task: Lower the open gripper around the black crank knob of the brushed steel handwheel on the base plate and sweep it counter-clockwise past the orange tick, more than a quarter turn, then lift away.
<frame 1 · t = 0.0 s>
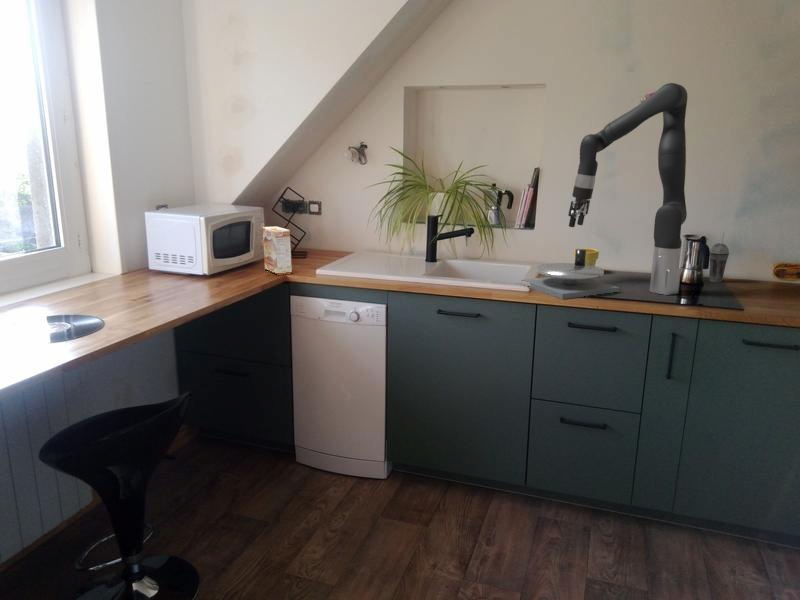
hand: (575, 225, 245), 22 cm above the worktop, tool pointing down, fingers open, 8 cm apart
beverage cup: (715, 281, 247), on the worktop
handwheel: (570, 263, 232), point 10 cm above the worktop, hinge at 0.0°
coffeecake box: (278, 272, 266), on the worktop
wheel base: (568, 288, 235), on the worktop
plant pot: (584, 272, 265), on the worktop
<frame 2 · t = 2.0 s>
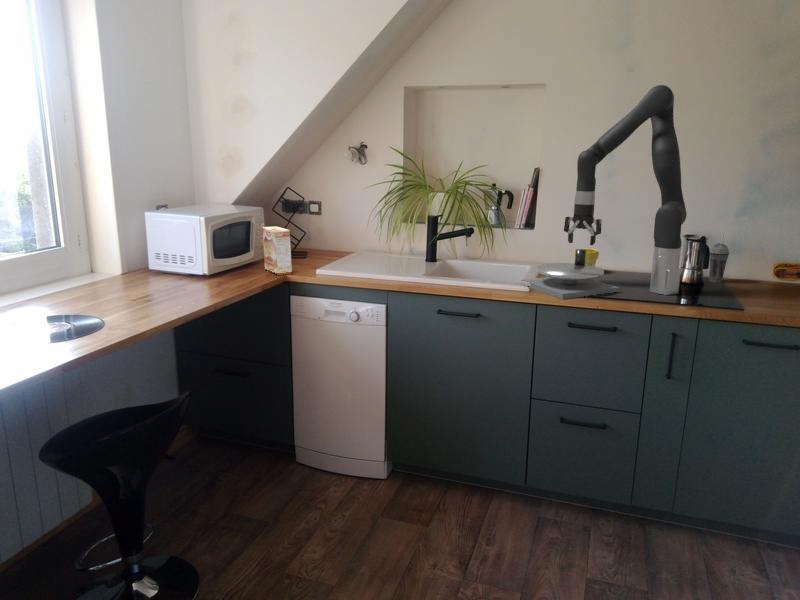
hand: (581, 244, 239), 16 cm above the worktop, tool pointing down, fingers open, 8 cm apart
nothing on the worktop moved.
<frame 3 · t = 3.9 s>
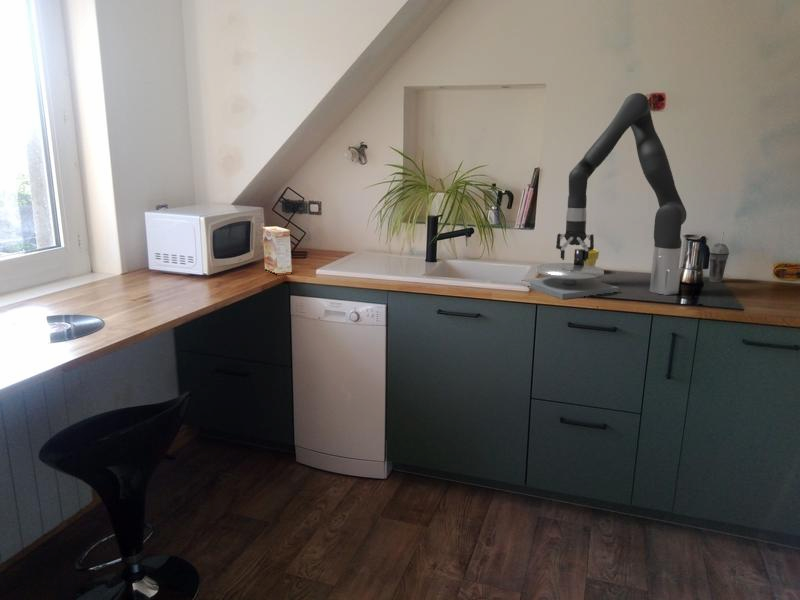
hand: (574, 260, 241), 10 cm above the worktop, tool pointing down, fingers open, 8 cm apart
handwheel: (570, 263, 232), point 10 cm above the worktop, hinge at 2.1°, touching gripper
everything else where it was.
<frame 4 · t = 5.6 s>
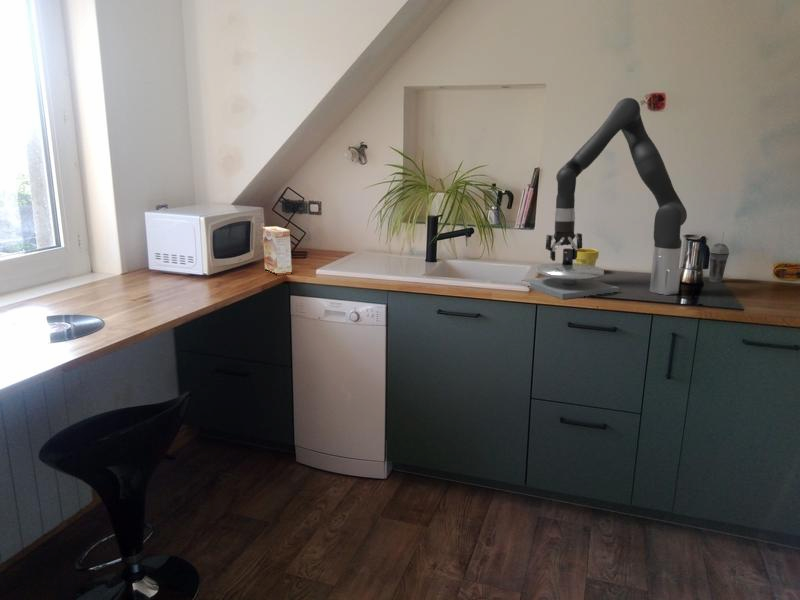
hand: (563, 260, 242), 9 cm above the worktop, tool pointing down, fingers open, 8 cm apart
handwheel: (570, 263, 232), point 10 cm above the worktop, hinge at 26.6°, touching gripper
everything else where it was.
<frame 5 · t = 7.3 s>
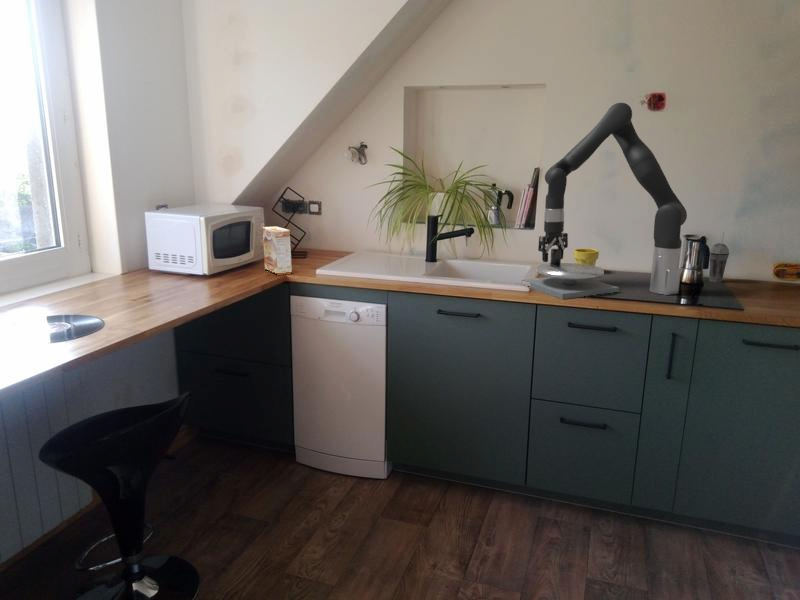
hand: (552, 260, 241), 9 cm above the worktop, tool pointing down, fingers open, 8 cm apart
handwheel: (570, 263, 232), point 10 cm above the worktop, hinge at 53.9°, touching gripper
everything else where it was.
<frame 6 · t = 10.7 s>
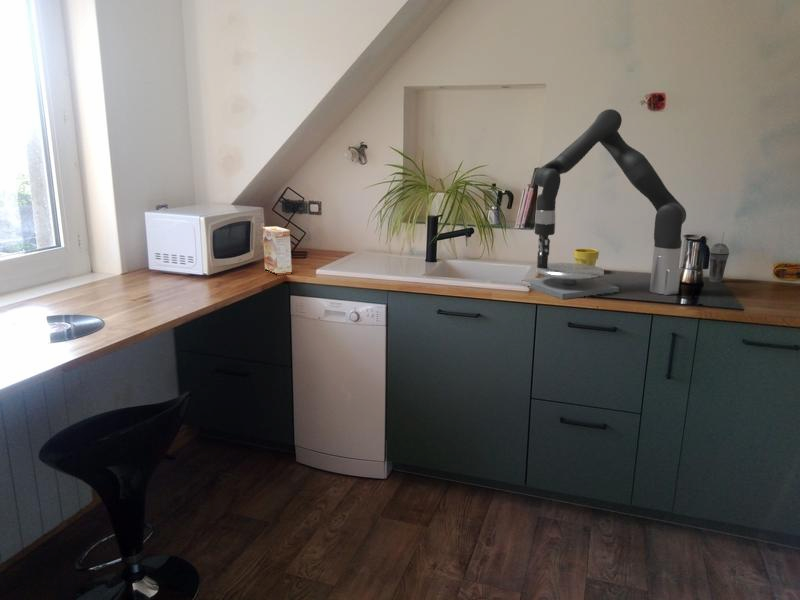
hand: (543, 263, 234), 10 cm above the worktop, tool pointing down, fingers open, 8 cm apart
handwheel: (570, 263, 232), point 10 cm above the worktop, hinge at 106.1°, touching gripper
everything else where it was.
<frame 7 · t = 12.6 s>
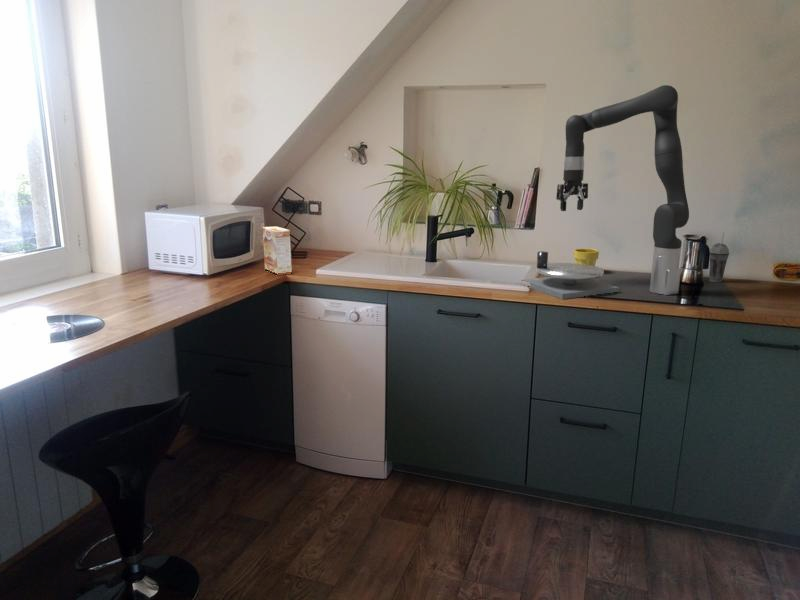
hand: (571, 210, 239), 29 cm above the worktop, tool pointing down, fingers open, 8 cm apart
handwheel: (570, 263, 232), point 10 cm above the worktop, hinge at 110.7°
everything else where it was.
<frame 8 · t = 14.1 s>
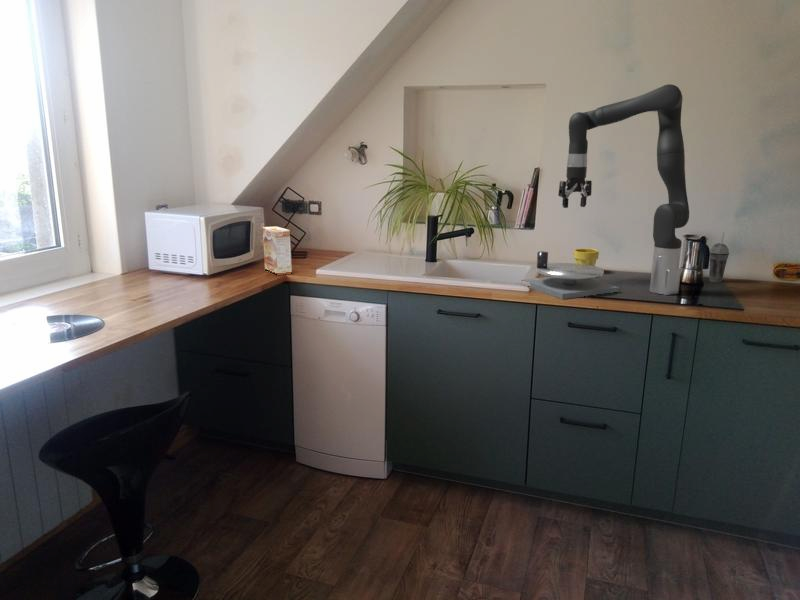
hand: (574, 207, 240), 30 cm above the worktop, tool pointing down, fingers open, 8 cm apart
nothing on the worktop moved.
at the end: handwheel at +111° (first picture: +0°); plant pot moved 0.2 cm from its start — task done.
